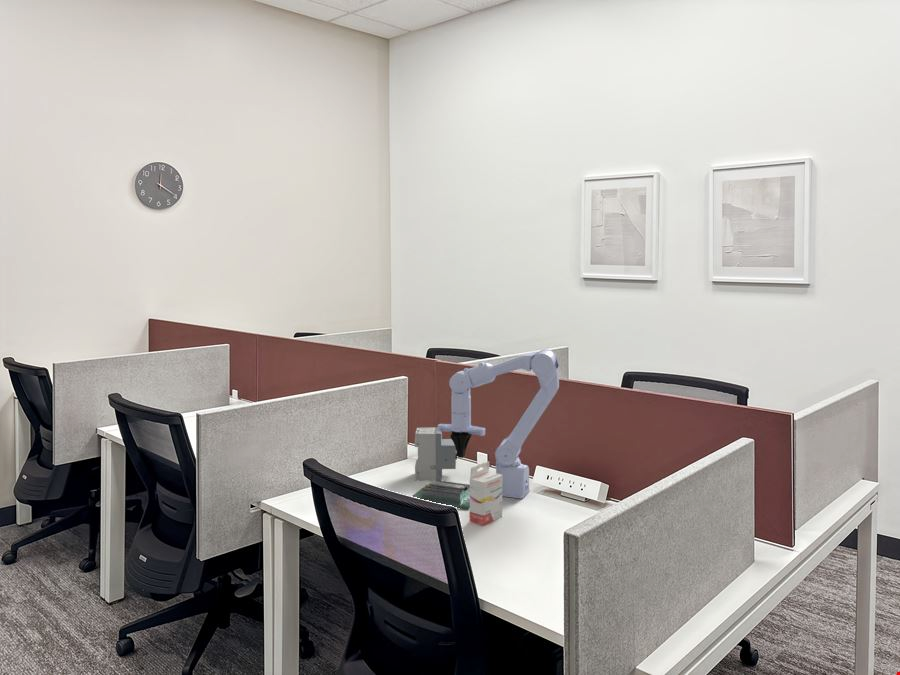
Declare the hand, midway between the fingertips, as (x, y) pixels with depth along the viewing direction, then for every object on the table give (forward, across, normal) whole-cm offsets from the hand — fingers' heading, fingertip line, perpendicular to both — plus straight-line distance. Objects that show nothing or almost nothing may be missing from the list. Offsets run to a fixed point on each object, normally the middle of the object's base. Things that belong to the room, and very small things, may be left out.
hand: (461, 456), depth 209 cm
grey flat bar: (+7, -1, -9) cm, 11 cm away
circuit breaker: (+10, -11, +8) cm, 17 cm away
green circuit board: (+10, -1, -9) cm, 13 cm away
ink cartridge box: (+10, +15, -20) cm, 27 cm away
